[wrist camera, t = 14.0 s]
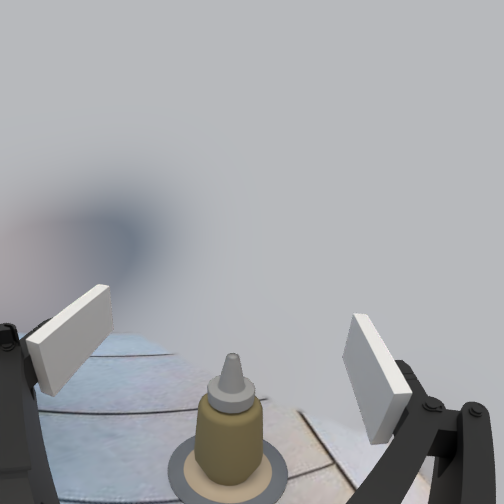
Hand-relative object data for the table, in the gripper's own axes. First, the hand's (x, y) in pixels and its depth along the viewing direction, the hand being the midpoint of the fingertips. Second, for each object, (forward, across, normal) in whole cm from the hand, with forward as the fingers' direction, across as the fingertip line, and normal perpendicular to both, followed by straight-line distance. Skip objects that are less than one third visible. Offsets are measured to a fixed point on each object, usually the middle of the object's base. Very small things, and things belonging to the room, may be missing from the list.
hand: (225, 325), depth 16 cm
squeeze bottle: (+10, 0, -27) cm, 28 cm away
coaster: (+10, 0, -28) cm, 29 cm away
